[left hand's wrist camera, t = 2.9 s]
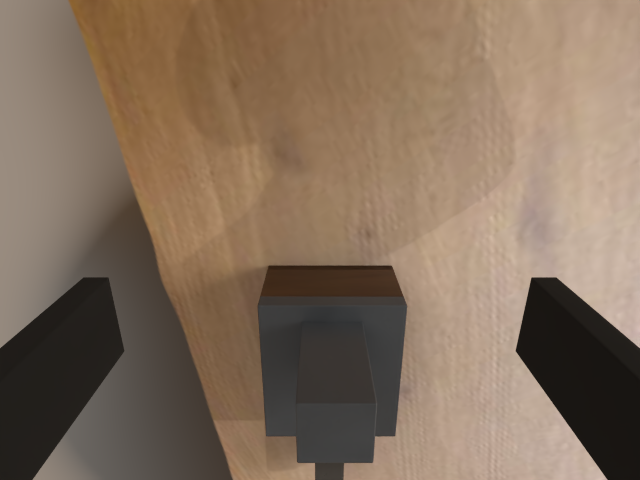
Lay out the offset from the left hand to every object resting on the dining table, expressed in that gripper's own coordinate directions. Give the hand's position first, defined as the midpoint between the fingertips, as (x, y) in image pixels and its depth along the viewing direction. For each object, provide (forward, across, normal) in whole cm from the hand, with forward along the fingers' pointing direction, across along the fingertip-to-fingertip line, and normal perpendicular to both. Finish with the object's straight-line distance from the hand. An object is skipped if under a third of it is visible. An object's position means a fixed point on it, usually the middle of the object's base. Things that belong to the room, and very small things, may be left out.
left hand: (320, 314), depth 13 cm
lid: (+21, +1, -17) cm, 27 cm away
